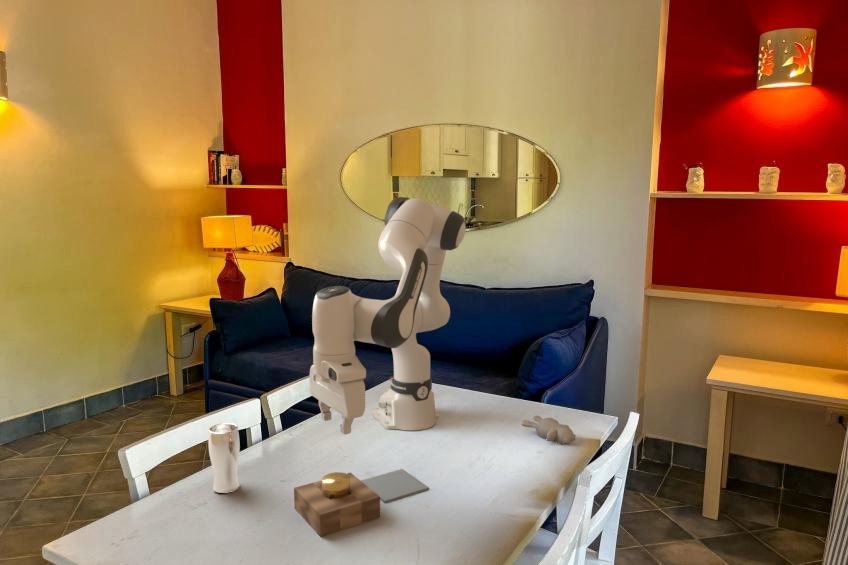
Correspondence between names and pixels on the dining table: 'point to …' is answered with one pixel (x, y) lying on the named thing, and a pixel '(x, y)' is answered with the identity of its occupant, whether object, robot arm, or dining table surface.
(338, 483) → the brass knob
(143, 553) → the dining table surface
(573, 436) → the bunny figurine
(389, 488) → the rubber mat
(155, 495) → the dining table surface
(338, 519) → the walnut block
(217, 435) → the beer glass
